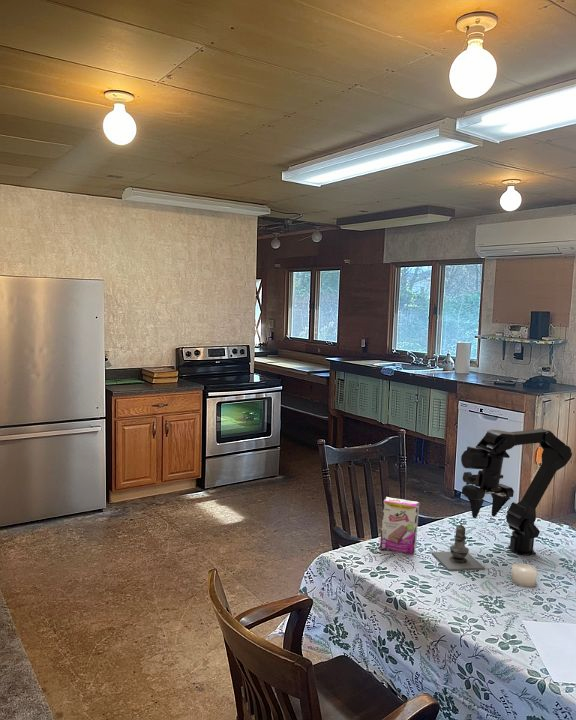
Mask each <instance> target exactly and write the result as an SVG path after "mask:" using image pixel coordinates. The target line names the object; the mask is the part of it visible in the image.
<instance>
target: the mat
mask: <svg viewBox="0 0 576 720" xmlns="http://www.w3.org/2000/svg"><path fill="white" fill-rule="evenodd" d="M431 555H432V556H433V557H434V558H435V559H436V560H437V561H438V562H439V563H440V564H441V565H442V566H443V567H444V568H445V570H447V571H448V572H455V571H479V570H480V571H481V570H485V569H486V566H484V565H482V563H480V561H478V560H477V558H475V557H474V556H473V555H471V554H470V553H469V552H468V554H467V556H466V557H464V558H466V559H467V562H466V563H455V562H453V561H451V560H450V557H451V556H453V555H452V554H451V551H431Z"/></svg>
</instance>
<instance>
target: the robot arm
mask: <svg viewBox="0 0 576 720" xmlns="http://www.w3.org/2000/svg"><path fill="white" fill-rule="evenodd" d="M533 444H538V445H539V446H540V448H541V449H542V453H541V465H540V467H539V468H538V470H537V472H536V473H535V475H534V477H533V479H532V481H531V483H530V485H529V486H528V488H527V490H526V491H525V493H524V495H523V496H522V498H521V500H520V501H519V502H514V501H513V502H512V503H511V504H510V505H509V506H510V507H509V508H508V509H507V510H506V516H505V519H506V523H507V524H508V528H509V530H511V531H512V532H511V535H510V541H509V544H508V545H507V548H508V549H510V550H511V551H513V552H514V553H515V554H516V555H518V556H521V555H523V556H524V554H528V555H536V553H537V552H536V551H534V545H535V544H534V543H535V538H539V535H540V531H541V530H540V529H539V528H538V527H537V526H536V525H535V522H536V520H537V510H536V509H537V508H538V505H539V503H540V502H541V499H542V498H543V496H544V495H545V493H546V491H547V489H548V487H549V486H550V483H551V482H552V480H553V478H554V476H555V474H556V473H557V472H558V471H559V470H561V469H562V468H563V467H566V465H567V464H568V463H569V461H570V460H571V458H572V456H573V453H572V449H571V447H570V446H569V445H567V444H565V442H563V441H562V440H561V439H559V438H558V437H557V436H556V435H555V434H554V433H553V432H552V431H550V430H548V429H544V428H537V429H528V430H518V431H517V430H516V431H505V430H501V429H499V430H498V429H489V430H487V431H486V433H485V435H484V436H483V437H482V438H481V439H480V441H479V442H477V445H475V447H473V446H467V447H466V450H464V451H463V453H462V454H461V456H460V461H461V465H462V467H463V468H464V469H472V470H478V472H477V474H473V472H471V471H464V472H463V475H462V481H463V483H465V485H464V486H462V488H461V494H463V495H464V497H466V498H467V499H468V501H469V504H470V509H471V515H472V518H473V519H477V517H478V515H479V513H480V510H481V508H482V506H483V504H484V502H485V499H484V497H485V496H486V495H491V497H492V498H491V499H492V503H491V517H496V516H497V514H498V513H499V512H500V510H501V509H502V508H503V507H504V505H506V503H507V502H508V501H509V500H511V498H514V495H515V491H514V489H513V487H511V486H508V485H506V484H503V483H500V482H501V481H500V480H501V479H504V474H502V468H503V462H504V458H507V459H510V457H511V456H510V454H508V452H507V451H508V450H512V449H513V448H514V447H516V446H522V445H533Z"/></svg>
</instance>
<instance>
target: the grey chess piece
mask: <svg viewBox="0 0 576 720" xmlns="http://www.w3.org/2000/svg"><path fill="white" fill-rule="evenodd" d="M459 524H460V525H459ZM459 524H458V525H456V528H455V535H454V543H453V544H452V545H450V546H449V552H451V554H452V555H453V556H451V557H450V560H451V561H453V562H455V563H466V562H467V559H466V558H464V557H466V556H467V554H468V553H469V552H470V549H469V548H468V547H467V546H466V545H465V544H466V543H465V542H466V539H467V537H466V527H465V526H464V525H463V523H462V522H460V523H459Z"/></svg>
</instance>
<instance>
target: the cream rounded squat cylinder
mask: <svg viewBox="0 0 576 720" xmlns="http://www.w3.org/2000/svg"><path fill="white" fill-rule="evenodd" d="M537 578H538V569H537V568H536V567H535V566H533V565H530V564H526V563H522V562H515V563H513V564H511V572H510V580H511V582H512V583H514V584H515V585H518V586H521V587H529V588H531V587H535V586H536V585H537Z"/></svg>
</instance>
